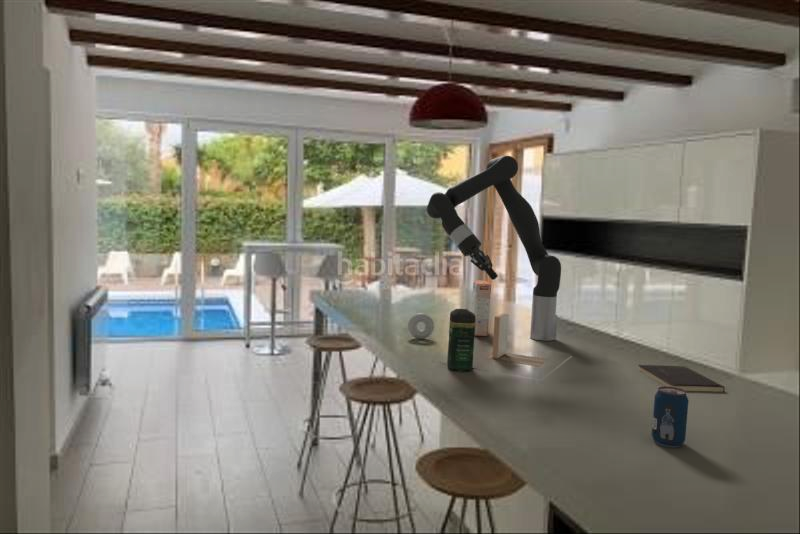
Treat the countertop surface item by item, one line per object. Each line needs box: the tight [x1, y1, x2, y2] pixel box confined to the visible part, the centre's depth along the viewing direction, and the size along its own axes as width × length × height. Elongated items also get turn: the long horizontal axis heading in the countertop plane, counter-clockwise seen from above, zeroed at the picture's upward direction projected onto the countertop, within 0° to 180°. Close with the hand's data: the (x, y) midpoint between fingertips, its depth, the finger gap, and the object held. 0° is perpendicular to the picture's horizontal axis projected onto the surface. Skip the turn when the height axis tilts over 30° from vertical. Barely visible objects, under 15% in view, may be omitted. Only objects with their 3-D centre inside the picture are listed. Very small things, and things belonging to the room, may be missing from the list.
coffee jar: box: [446, 308, 476, 372], centre depth 200 cm, size 10×8×19 cm
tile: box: [491, 312, 510, 359], centre depth 216 cm, size 2×9×14 cm, turn 152°
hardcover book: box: [638, 364, 726, 393], centre depth 197 cm, size 16×23×2 cm
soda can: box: [651, 386, 689, 448], centre depth 142 cm, size 7×7×12 cm
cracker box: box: [471, 279, 492, 337], centre depth 257 cm, size 14×6×21 cm, turn 179°
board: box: [485, 352, 549, 367], centre depth 214 cm, size 12×18×1 cm, turn 62°
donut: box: [407, 312, 435, 340], centre depth 242 cm, size 10×4×10 cm, turn 95°
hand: (495, 278), depth 222 cm, fingers closed
